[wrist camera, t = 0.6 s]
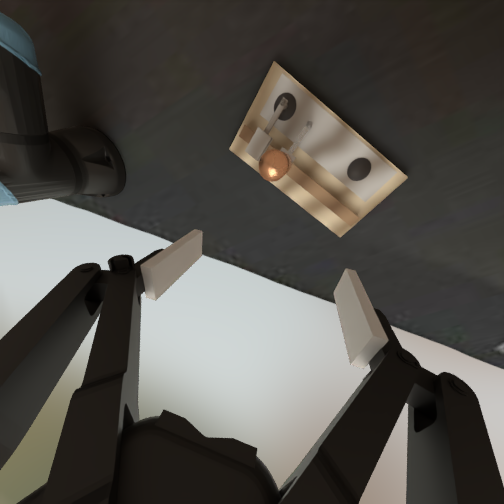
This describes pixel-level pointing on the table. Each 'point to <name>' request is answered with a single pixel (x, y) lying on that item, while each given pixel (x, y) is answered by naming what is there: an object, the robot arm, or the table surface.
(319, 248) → the table surface
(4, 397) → the robot arm
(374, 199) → the holed mounting plate
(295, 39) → the table surface
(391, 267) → the table surface
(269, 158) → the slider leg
